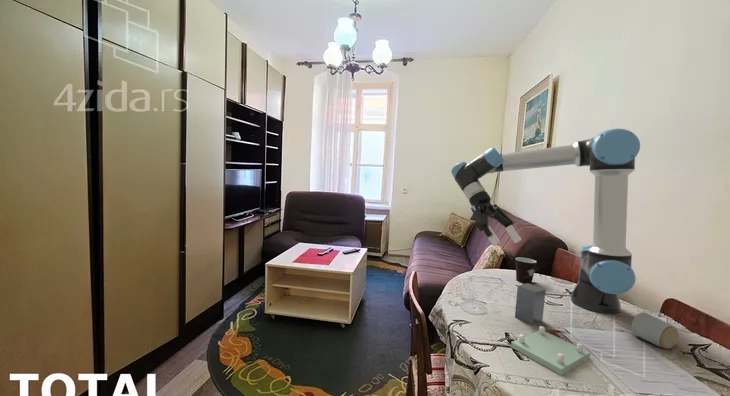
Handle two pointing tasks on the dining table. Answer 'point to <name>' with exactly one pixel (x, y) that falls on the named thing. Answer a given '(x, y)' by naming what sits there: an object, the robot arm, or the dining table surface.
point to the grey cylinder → (654, 330)
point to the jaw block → (530, 303)
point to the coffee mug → (525, 269)
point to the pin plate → (551, 350)
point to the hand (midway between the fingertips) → (508, 242)
